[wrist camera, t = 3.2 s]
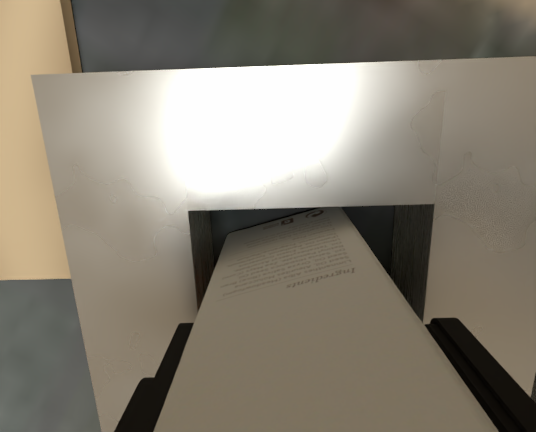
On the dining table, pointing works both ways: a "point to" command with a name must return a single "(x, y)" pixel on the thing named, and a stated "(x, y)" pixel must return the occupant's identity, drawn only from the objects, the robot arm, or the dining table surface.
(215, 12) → the dining table surface
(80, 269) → the white rectangular frame
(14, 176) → the wooden coaster
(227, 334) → the skincare box
